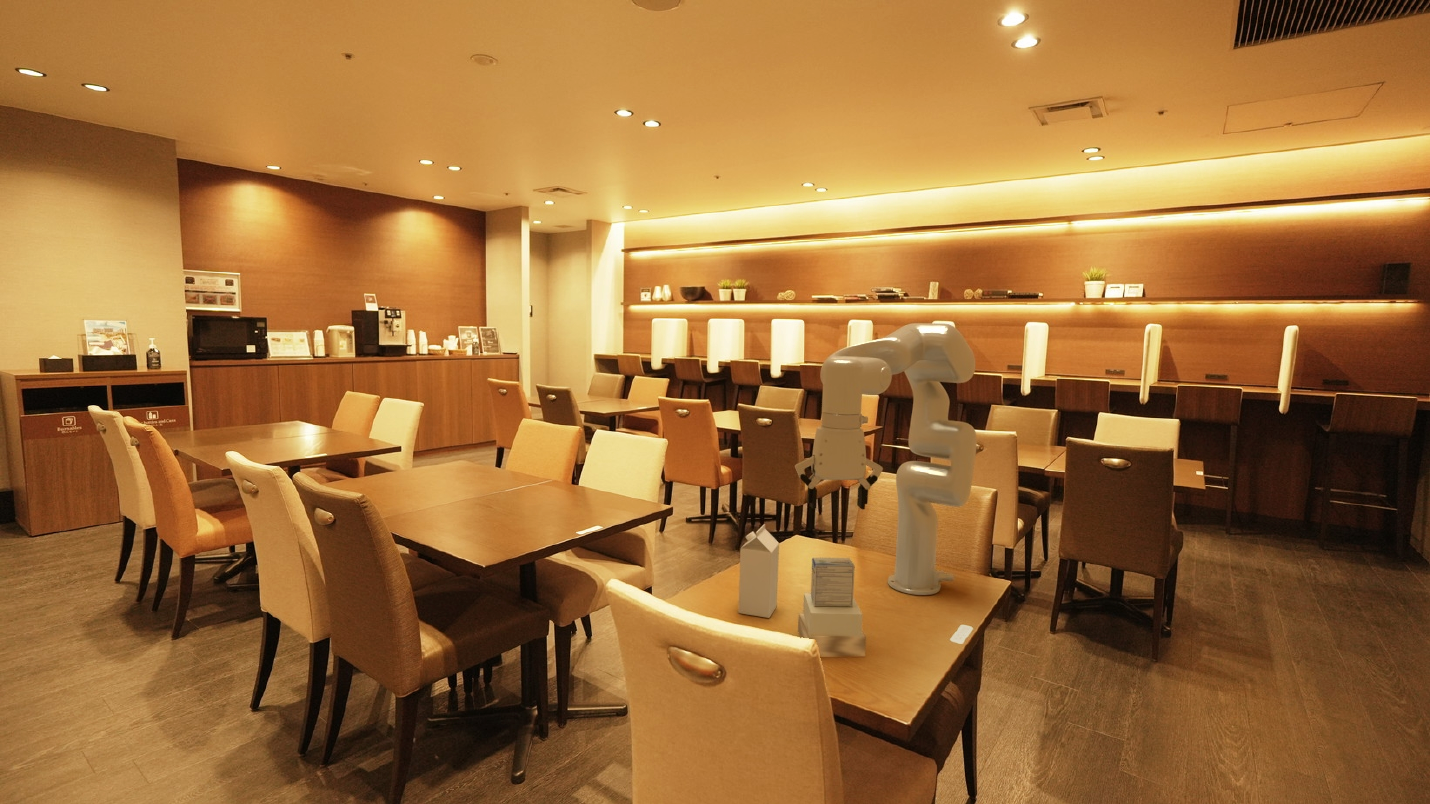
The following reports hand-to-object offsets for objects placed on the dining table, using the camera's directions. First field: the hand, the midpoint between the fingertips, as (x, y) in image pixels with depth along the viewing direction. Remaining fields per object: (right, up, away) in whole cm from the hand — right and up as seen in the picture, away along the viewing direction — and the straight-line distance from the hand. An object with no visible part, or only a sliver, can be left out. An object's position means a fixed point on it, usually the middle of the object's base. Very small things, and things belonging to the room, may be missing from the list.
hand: (836, 507), depth 132 cm
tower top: (-1, -24, +2) cm, 24 cm away
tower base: (-1, -29, +3) cm, 29 cm away
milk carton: (-15, -26, +18) cm, 35 cm away
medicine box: (-1, -20, +2) cm, 20 cm away
